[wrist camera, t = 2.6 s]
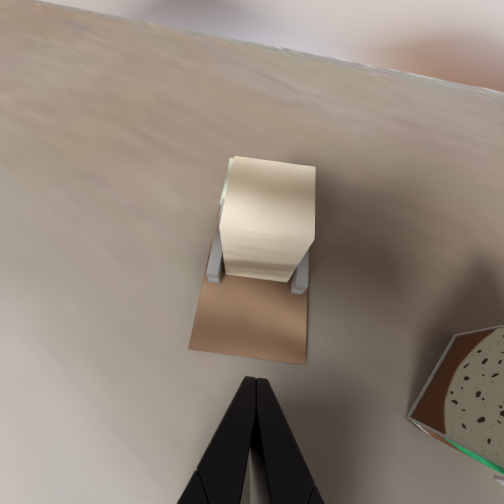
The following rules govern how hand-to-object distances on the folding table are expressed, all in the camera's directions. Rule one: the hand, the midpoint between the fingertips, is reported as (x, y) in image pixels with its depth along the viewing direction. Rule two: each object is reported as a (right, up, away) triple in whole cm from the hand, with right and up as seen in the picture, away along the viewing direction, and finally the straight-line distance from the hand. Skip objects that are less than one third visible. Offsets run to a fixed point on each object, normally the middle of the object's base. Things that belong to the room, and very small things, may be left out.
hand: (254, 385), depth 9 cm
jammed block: (+1, +5, +16) cm, 16 cm away
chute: (+1, +6, +17) cm, 18 cm away
